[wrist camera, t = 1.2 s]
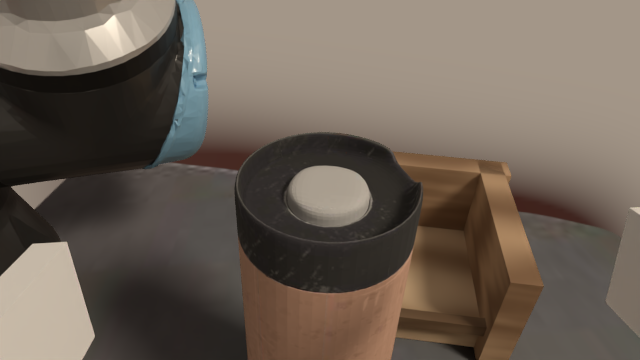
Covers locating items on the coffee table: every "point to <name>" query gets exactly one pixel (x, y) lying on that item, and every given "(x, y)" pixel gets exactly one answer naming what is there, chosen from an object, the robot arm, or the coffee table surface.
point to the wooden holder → (467, 258)
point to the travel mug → (324, 247)
